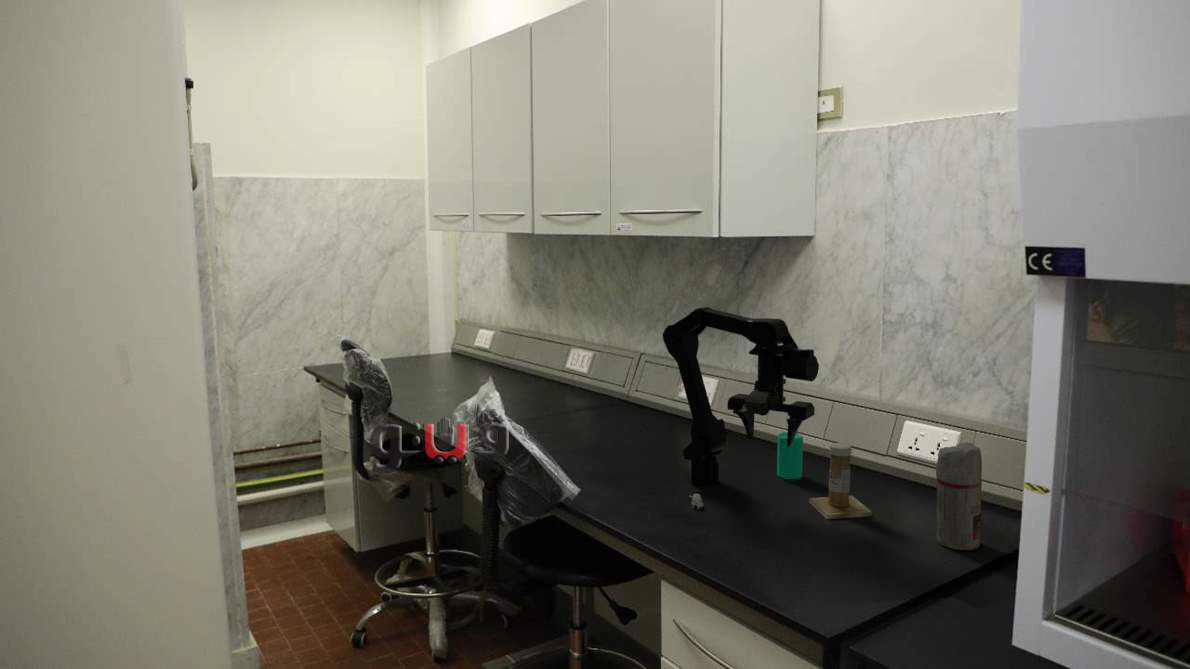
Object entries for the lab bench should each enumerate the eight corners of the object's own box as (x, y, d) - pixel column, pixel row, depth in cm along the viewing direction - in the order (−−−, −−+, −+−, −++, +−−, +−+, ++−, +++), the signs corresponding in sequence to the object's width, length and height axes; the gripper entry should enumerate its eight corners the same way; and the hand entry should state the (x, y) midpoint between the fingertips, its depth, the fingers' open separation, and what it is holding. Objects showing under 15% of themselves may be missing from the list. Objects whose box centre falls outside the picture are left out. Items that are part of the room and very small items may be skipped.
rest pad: (826, 519, 171) (826, 514, 171) (809, 502, 181) (809, 497, 181) (871, 516, 172) (871, 511, 172) (851, 499, 182) (851, 495, 182)
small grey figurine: (704, 507, 180) (704, 494, 180) (699, 511, 178) (699, 498, 178) (691, 505, 182) (691, 492, 181) (686, 509, 180) (686, 496, 179)
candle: (802, 480, 196) (803, 433, 194) (777, 479, 197) (778, 432, 195) (801, 473, 201) (802, 426, 200) (776, 471, 203) (777, 425, 201)
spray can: (960, 555, 152) (966, 453, 149) (925, 540, 160) (929, 442, 156) (990, 546, 156) (996, 446, 153) (954, 532, 163) (959, 436, 160)
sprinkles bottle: (823, 502, 178) (825, 443, 176) (840, 499, 180) (841, 440, 178) (837, 509, 174) (839, 449, 172) (854, 505, 176) (856, 446, 174)
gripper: (716, 377, 179) (715, 445, 181) (796, 387, 168) (794, 459, 170) (738, 369, 188) (738, 434, 190) (816, 377, 177) (814, 446, 179)
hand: (769, 443), depth 182 cm, fingers open, 9 cm apart
